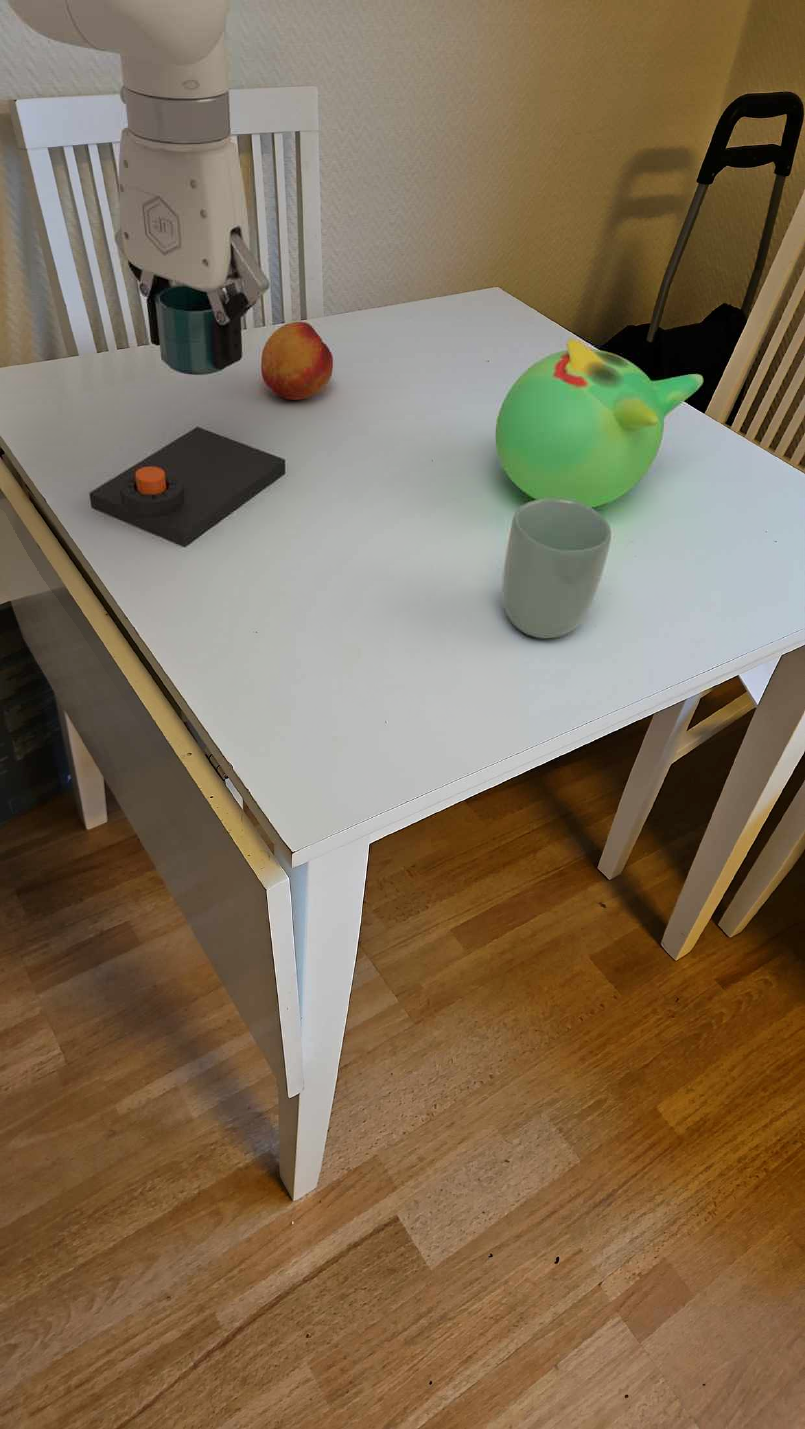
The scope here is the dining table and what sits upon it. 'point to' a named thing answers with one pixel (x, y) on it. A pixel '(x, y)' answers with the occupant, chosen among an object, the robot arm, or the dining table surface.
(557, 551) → the cup
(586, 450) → the toy bird
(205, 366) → the teal hollow faceted cylinder
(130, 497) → the scale
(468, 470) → the dining table surface
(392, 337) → the dining table surface
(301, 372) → the fruit
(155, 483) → the button
